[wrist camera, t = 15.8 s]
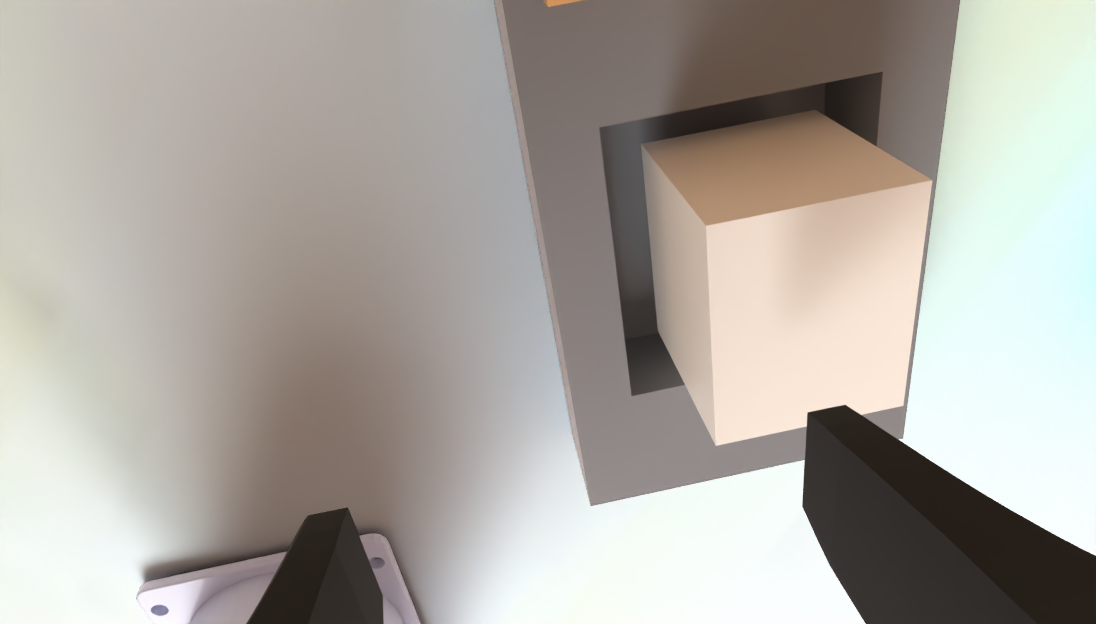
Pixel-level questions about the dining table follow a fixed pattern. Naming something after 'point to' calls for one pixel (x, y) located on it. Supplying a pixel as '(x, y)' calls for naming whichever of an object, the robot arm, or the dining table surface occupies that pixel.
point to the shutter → (558, 2)
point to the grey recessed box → (619, 190)
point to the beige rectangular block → (784, 270)
